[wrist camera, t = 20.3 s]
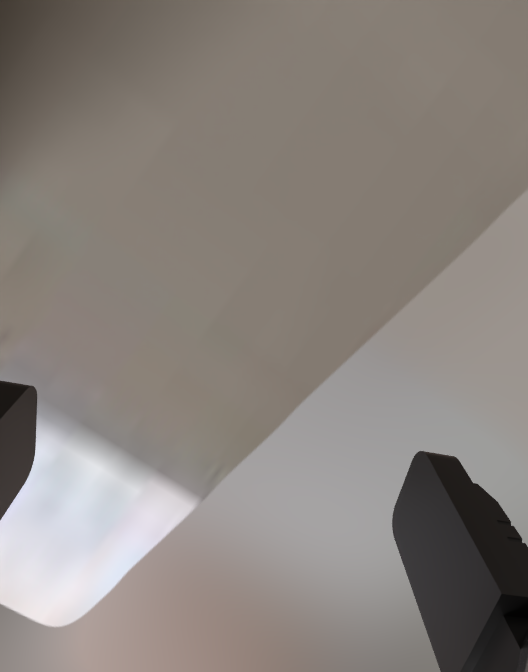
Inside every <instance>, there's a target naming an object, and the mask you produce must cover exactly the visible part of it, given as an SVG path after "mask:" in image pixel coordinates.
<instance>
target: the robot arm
mask: <svg viewBox="0 0 528 672" xmlns="http://www.w3.org/2000/svg"><path fill="white" fill-rule="evenodd" d="M36 415H37V391H36V389H35V387H34V386H29V385H23V384H17V383H11V382H5V381H0V520H1V518H2V517H3V515H4V514H5V512H6V511H7V509H8V508H9V506H10V505H11V503H12V502H13V500H14V499H15V497H16V496H17V494H18V493H19V491H20V489H21V488H22V486H23V485H24V483H25V482H26V480H27V478H28V476H29V473H30V471H31V468H32V465H33V461H34V456H35V443H36ZM392 527H393V534H394V538H395V541H396V544H397V547H398V550H399V553H400V556H401V559H402V561H403V564H404V567H405V570H406V573H407V576H408V579H409V581H410V584H411V587H412V590H413V593H414V596H415V599H416V602H417V604H418V607H419V610H420V613H421V616H422V619H423V622H424V625H425V628H426V630H427V633H428V636H429V639H430V642H431V645H432V648H433V651H434V653H435V656H436V659H437V662H438V665H439V668H440V670H441V672H528V547H527V545H526V544H525V543H522V538H521V536H520V535H519V533H518V532H517V530H516V529H515V527H514V526H511V521H510V520H509V518H508V517H507V515H506V514H505V512H504V511H503V509H502V508H501V507H500V505H499V503H498V502H497V501H496V500H495V499H494V498H492V497H491V496H490V495H489V494H488V493H487V492H486V491H485V490H484V489H483V488H481V487H480V486H479V485H478V484H475V483H473V482H472V481H471V479H470V477H469V476H468V474H467V473H466V471H465V469H464V468H463V466H462V465H461V463H460V461H459V460H458V459H457V458H456V457H454V456H448V455H442V454H436V453H429V452H424V451H420V452H418V453H417V454H416V455H415V456H414V458H413V460H412V463H411V465H410V468H409V471H408V473H407V476H406V478H405V481H404V484H403V486H402V489H401V491H400V494H399V497H398V499H397V502H396V505H395V508H394V512H393V520H392Z"/></svg>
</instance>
